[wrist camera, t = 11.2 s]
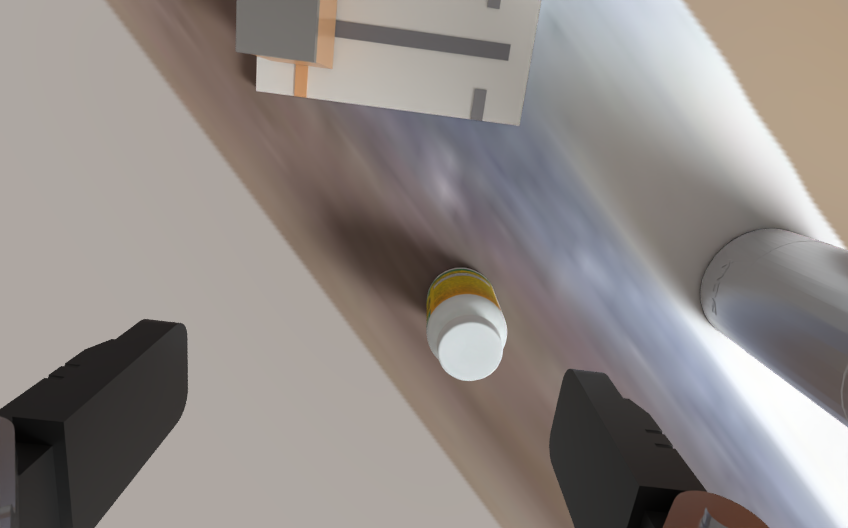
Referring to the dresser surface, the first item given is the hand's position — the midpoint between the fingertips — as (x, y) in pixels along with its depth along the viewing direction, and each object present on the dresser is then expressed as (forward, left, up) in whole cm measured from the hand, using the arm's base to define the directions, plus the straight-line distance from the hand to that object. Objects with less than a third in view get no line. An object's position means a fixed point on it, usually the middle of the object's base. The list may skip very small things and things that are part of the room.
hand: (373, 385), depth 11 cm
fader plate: (+2, -10, -28) cm, 30 cm away
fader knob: (+8, -10, -26) cm, 29 cm away
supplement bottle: (-5, +8, -28) cm, 30 cm away
